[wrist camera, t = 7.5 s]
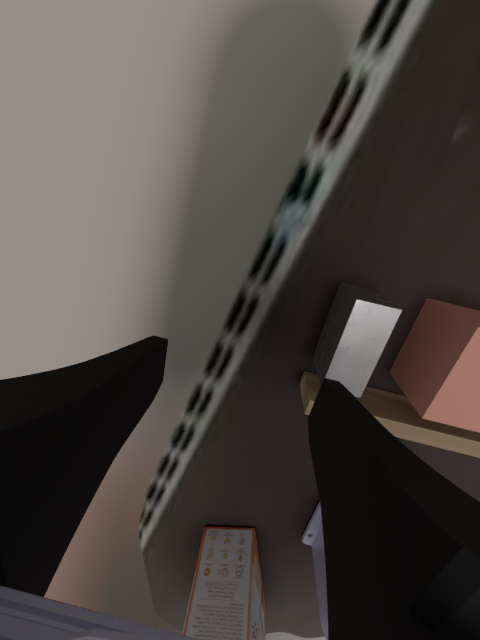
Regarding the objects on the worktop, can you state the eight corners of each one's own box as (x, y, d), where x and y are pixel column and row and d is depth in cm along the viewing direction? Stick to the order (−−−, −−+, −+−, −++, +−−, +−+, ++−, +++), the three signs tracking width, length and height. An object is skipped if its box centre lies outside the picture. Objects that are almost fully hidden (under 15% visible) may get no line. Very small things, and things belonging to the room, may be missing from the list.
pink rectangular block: (440, 384, 21) (489, 435, 16) (388, 371, 21) (422, 418, 16) (485, 312, 18) (557, 346, 14) (426, 297, 18) (478, 327, 14)
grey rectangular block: (344, 364, 21) (360, 397, 17) (312, 356, 21) (321, 388, 17) (376, 290, 19) (402, 310, 15) (340, 281, 19) (356, 299, 15)
